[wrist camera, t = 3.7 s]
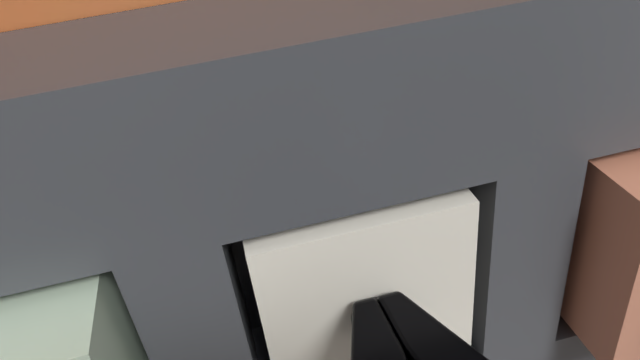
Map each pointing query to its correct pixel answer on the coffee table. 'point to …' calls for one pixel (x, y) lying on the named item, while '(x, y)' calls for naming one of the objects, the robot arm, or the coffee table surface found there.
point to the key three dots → (607, 260)
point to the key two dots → (69, 323)
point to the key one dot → (364, 272)
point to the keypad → (307, 148)
